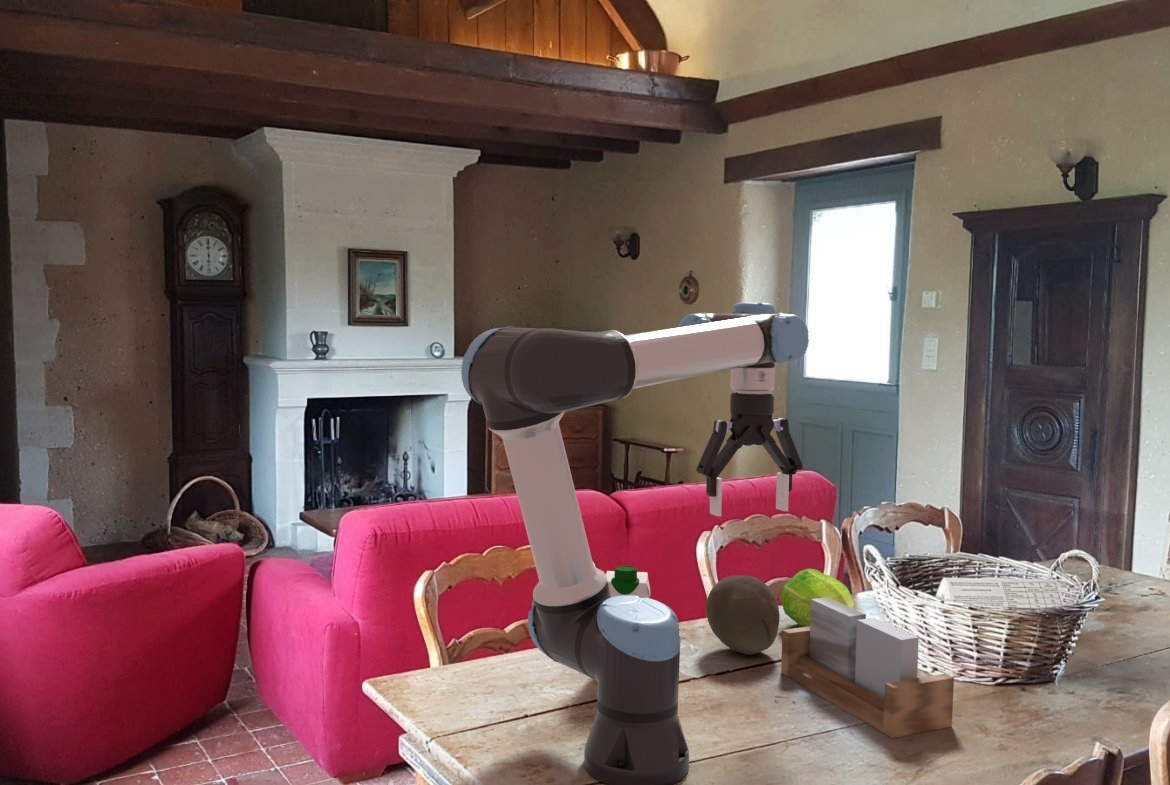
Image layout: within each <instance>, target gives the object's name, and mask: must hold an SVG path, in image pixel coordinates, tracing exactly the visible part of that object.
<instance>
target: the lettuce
mask: <svg viewBox="0 0 1170 785" xmlns="http://www.w3.org/2000/svg"><path fill="white" fill-rule="evenodd" d="M781 589H782V590H781V592H780V595H779V599H780V602H781V605H782V610H783V612H784V614H785V615H786V616H788V617H789V618H790V619H791V620H792V621H793V622H795V623H796V624H797V625H799V626H800V628H801V627H809V626H810V614H811V599H816V598H825V597H827V598H830V599H832V600H834V601H837V602H839V603H841V604H844V605H846V606H848V607H850V608H853V609H855V610H856V606H855V603H854V600H853V598H852V595H851V593H850V591H849V589H848V587H847V586H846V585H845V584H844V583H842V581H841V580H839V579H837V578H835V577H833V576H830V575H829V574H825V573H823V572H821V571H820V570H818V569H815V568H814V569H813V568H807V569H803V570H800V571H799V572H796V574H795V575H793V576H792V577H791V578H790V579H789V580H787V582H785V583H784V584H783V586H782V588H781Z"/></svg>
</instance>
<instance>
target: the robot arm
mask: <svg viewBox="0 0 1170 785" xmlns="http://www.w3.org/2000/svg"><path fill="white" fill-rule="evenodd" d="M776 311H777V310H776V307H775V306H774V304H772V303H768V302H735V303H734V304H733V305H732V311H731V313H713V312H712V313H709V312H698V313H690V314H687V315H685V316H684V317H683V318H682V319H681V320H680V321H679V324H678V326H677V327H674V328H673V327H672V328H666V329H665V328H664V329H659V330H651V331H646V332H645V331H644V332H639V333H633V334H632V333H631V334H625V335H624V334H623V333H621V332H620V331H618V330H615V329H609V330H603V331H602V330H601V331H579V330H567V329H557V328H546V327H545V328H544V327H543V328H537V327H535V328H533V327H518V326H517V327H516V326H514V325H513V326H511V325H509V326H508V325H507V326H504V327H497V328H492V329H488V330H486V331H484V332H482V333H481V334H479V335H478V336H477V337H475V338H474V339H473V341H471V343H470V344H469V346H468V348H467V350H466V352H465V354H464V355H463V359H462V363H461V367H460V368H461V371H460V372H461V373H460V374H461V382H462V384H463V385H462V386H463V387H464V390H465V391H466V393H467V395H468V396H469V397H470V398H471V399H472V400H473V401H474V402H476V403H478V404H479V405H482V408H483V412H484V416H485V420H486V423H487V427H488V430H489V431H491V432H493V433H494V434H496V435H498V436H499V437H500V438H501V439H502V442H503V446H504V450H505V454H506V458H507V462H508V466H509V469H510V470H509V471H510V474H511V477H512V481H513V485H514V489H515V493H516V496H517V500H518V503H519V507H520V508H519V509H520V512H521V516H522V519H523V523H524V528H525V531H526V534H527V538H528V542H529V546H530V550H531V554H532V558H533V562H534V566H535V570H536V574H537V577H538V582H537V584H536V585H535V586H534V587H533V590H532V598H533V599H532V602H531V606H532V607H531V609H530V610H529V611H528V616H527V626H528V631H529V636H530V637H531V638H530V639H531V640H532V642H533V644H534V645H535V646H536V648H537V649H538V650H539V651H540V652H542V653H543V654H545V655H546V656H547V658H549V659H551V660H552V661H553V662H556V663H558V664H561V665H563V666H566V667H567V668H569V669H572V670H574V671H576V672H578V673H580V674H583V675H585V676H587V677H589V678H591V679H593V680H594V681H596V682H597V689H596V693H597V694H596V700H597V701H596V703H597V704H596V713H595V717H594V719H593V723H592V724H591V728H590V731H589V734H588V737H587V740H586V742H585V745H584V751H583V752H584V753H583V755H584V757H583V758H584V762H583V765H584V768H585V771H586V773H588V774H589V775H590V776H591V777H592V778H594V779H596V780H597V781H599V782H602V783H604V784H606V785H673V784H676V783H677V782H679V781H681V780H682V779H684V778H685V777H686V775H687V774H688V773H689V769H690V752H689V747H688V743H687V740H686V737H685V733H684V731H683V727H682V724H681V721H680V716H679V683H680V659H681V658H680V656H681V655H680V654H681V643H682V642H681V636H680V622H679V619H678V617H677V615H676V613H675V612H674V610H673V609H672V608H671V607H669V606H668V605H666V604H664V603H663V602H661V601H658V600H656V599H653V598H640V597H639V596H632V595H622V596H615V597H611V593H610V589H609V585H608V581H607V577H606V575H605V574H606V573H605V571H604V570H602V569H599V568H597V567H596V566H594V562H593V558H592V554H591V549H590V545H589V542H588V538H587V537H588V536H587V534H586V533H587V532H586V530H585V525H584V521H583V518H582V513H581V510H580V508H581V507H580V505H579V501H578V496H577V492H576V489H575V488H576V487H575V485H574V481H573V477H572V472H571V469H570V463H569V461H568V460H569V459H568V456H567V452H566V449H565V444H564V439H563V436H562V432H561V427H560V420H562V418H563V416H564V414H565V413H566V412H571V411H574V410H578V409H582V408H587V407H591V406H594V405H599V404H604V403H608V402H611V401H617V400H622V399H625V398H626V397H628V396H630V394H631V393H632V391H633V390H635V389H638V388H644V387H648V386H654V385H658V384H664V383H668V382H673V381H680V380H684V379H689V378H694V377H701V376H704V375H708V374H714V373H719V372H724V371H729V370H730V386H729V388H730V389H731V390H733V392H731V394H730V395H729V396H730V398H729V399H730V401H729V412H730V420H729V421H726V420H721V419H714V422H713V427H712V428H713V429H712V434H711V436H710V437H709V440H708V443H707V444H706V447H705V449H704V451H703V453H702V456H701V457H700V460H699V463H698V465H697V467H696V469H695V472H696V473H698V474H700V475H702V476H705V478H706V490H705V492H706V495H707V497H709V514H710V515H713V516H714V517H715V516H716V517H722V509H723V508H722V504H723V503H722V502H723V498H722V497H723V478H721V477H719V476H720V474H721V473H722V472H723V471H724V469H725V468H726V466H727V465H728V464H729V463H730V461H731V460H732V458H733V457H734V455H735V454H737V452H738V450H740V449H741V448H742V447H743V446H746V447H747V446H749V447H750V446H753V445H756V446H762V447H763V448H764V449H765V450H766V451H767V453H768V455H769V456H770V457H771V459H772V460H773V462H774V463H775V464H776V465H777V467H778V469H779V470H780V471H781V472H776V486H775V487H776V491H775V492H776V493H775V510H776V509H777V510H780V511H782V512H789V494H790V493H789V492H792V489H793V476H794V475H796V474H797V472H798V470H799V471H800V470H802V469H803V466H804V465H803V463H802V461H801V458H800V456H799V453H798V450H797V448H796V446H795V443H794V441H793V438H792V435H791V433H790V428H789V426H790V424H789V420H788V419H787V418H783V417H776V418H775V419H773V414H774V411H775V395H774V393H772V392H771V391H773V390H774V389H775V368H776V367H775V366H776V365H775V364H776V363H778V364H785V363H795V362H798V361H799V360H801V359H802V358H803V357H804V355H805V354H806V352H807V350H808V347H809V343H810V342H809V341H810V339H809V329H808V326H807V324H806V322H805V321H804V319H803V318H801V316H799V315H797V314H792V313H790V314H789V313H784V312H779V313H777V312H776ZM773 430H774V431H775V433H776V436H777V440H778V441H779V443H780V446H781V449H782V450H781V449H780V448H779V445H777V442H776V440H775V438H774V437H773V435H772V434H771V432H772V431H773ZM729 431H730V432H731V434H730V436H729V437H728V438H727V439H725V438H726V435H727V434H728V433H729ZM724 440H726V443H725V444H724ZM723 444H724V446H723V447H722V445H723ZM721 447H722V449H721ZM782 451H783V452H782Z"/></svg>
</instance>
